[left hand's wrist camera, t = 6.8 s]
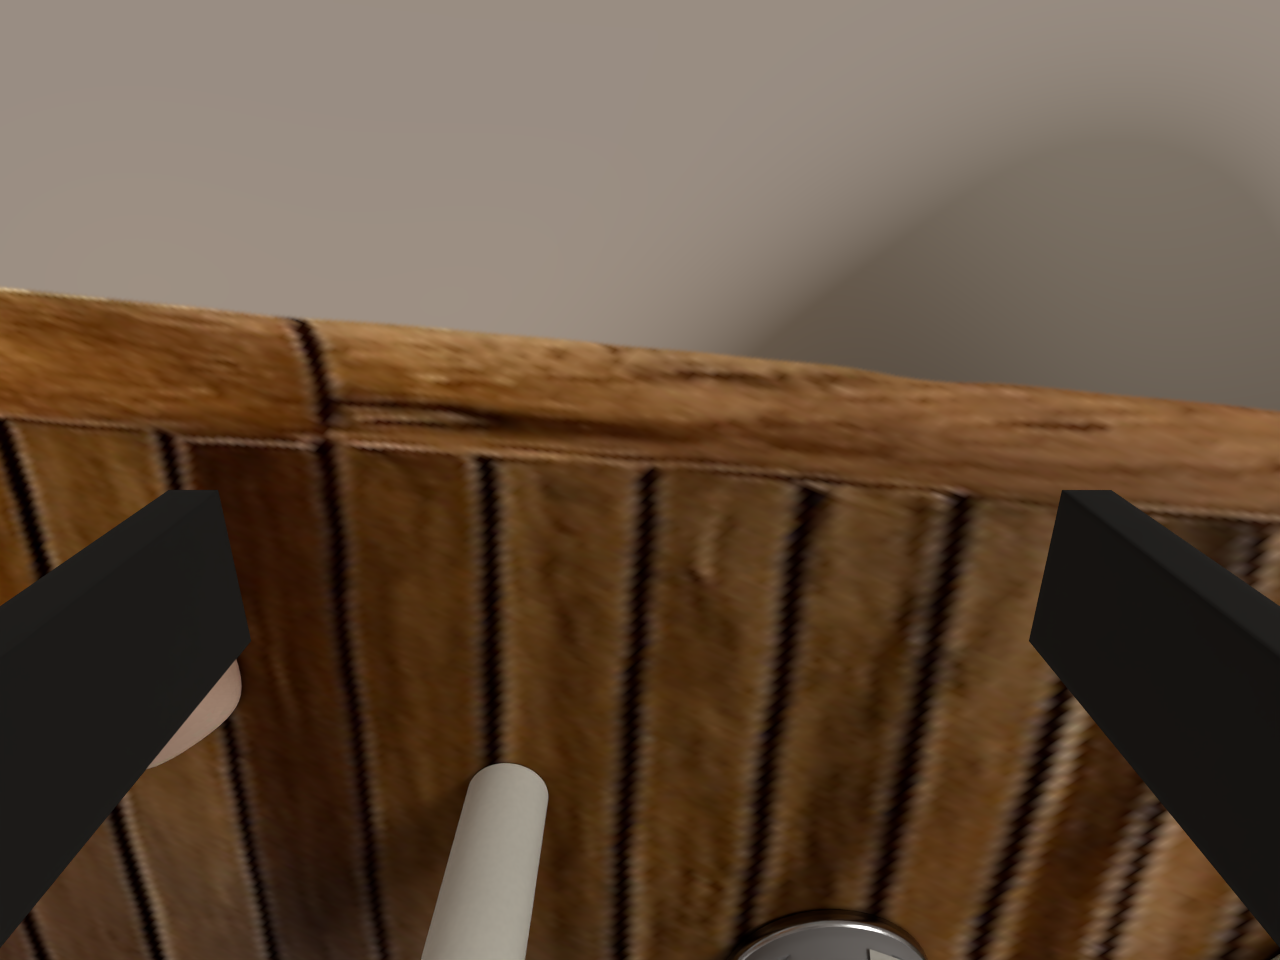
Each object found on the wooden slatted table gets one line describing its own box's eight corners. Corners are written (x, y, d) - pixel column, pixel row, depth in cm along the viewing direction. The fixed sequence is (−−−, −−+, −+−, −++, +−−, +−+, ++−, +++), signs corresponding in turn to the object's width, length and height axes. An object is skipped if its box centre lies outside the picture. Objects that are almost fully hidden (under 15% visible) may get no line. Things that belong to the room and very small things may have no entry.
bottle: (453, 778, 50) (351, 1115, 32) (525, 752, 49) (461, 1083, 31) (491, 834, 51) (414, 1183, 34) (561, 809, 51) (520, 1154, 33)
